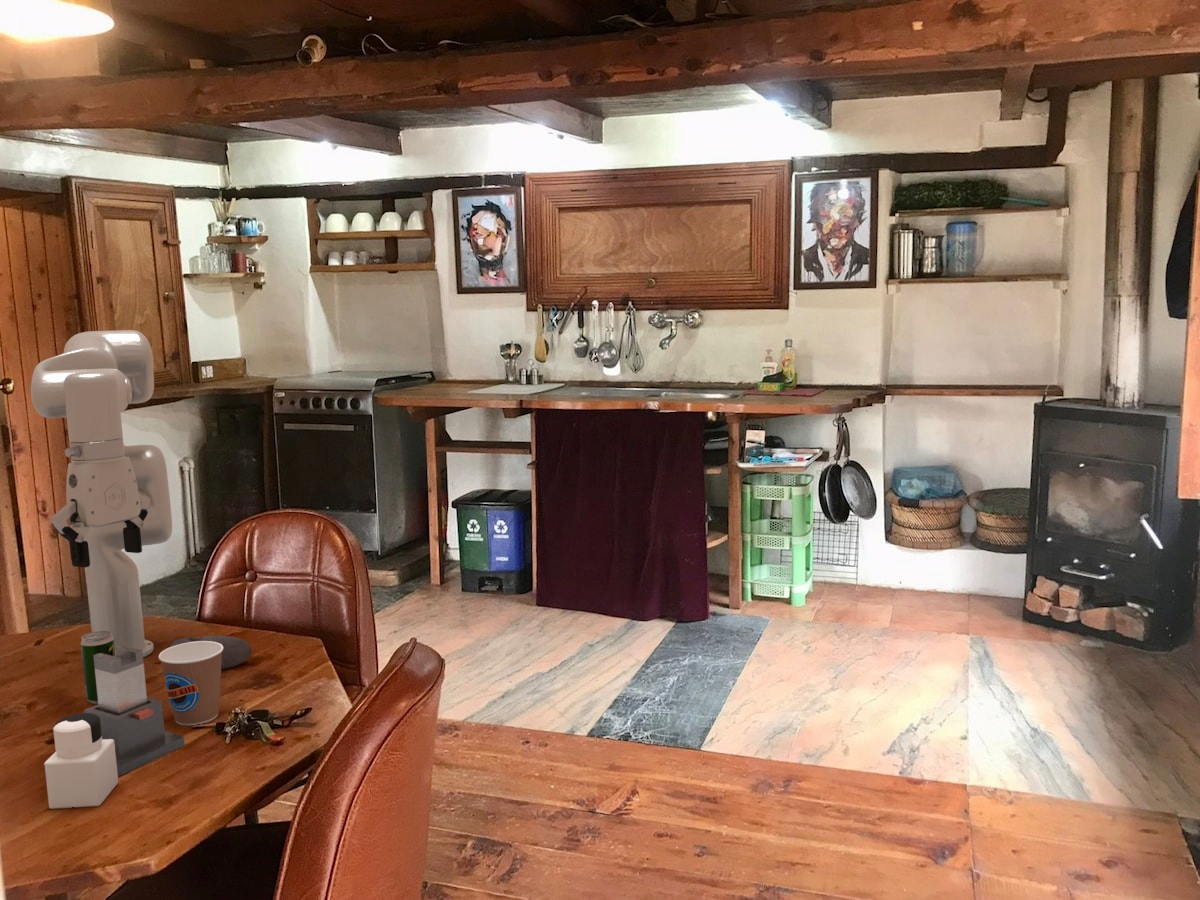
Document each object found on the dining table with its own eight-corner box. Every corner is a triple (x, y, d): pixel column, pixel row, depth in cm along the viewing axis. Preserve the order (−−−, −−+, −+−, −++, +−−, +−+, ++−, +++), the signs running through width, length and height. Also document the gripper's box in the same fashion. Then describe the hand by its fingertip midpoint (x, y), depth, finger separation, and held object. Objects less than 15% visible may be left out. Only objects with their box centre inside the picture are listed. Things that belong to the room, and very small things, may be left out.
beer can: (88, 707, 179) (81, 642, 178) (84, 697, 184) (78, 634, 182) (121, 700, 182) (115, 636, 180) (117, 690, 187) (110, 628, 185)
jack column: (101, 746, 160) (92, 655, 157) (131, 733, 164) (122, 645, 162) (122, 753, 157) (113, 660, 155) (151, 740, 162) (143, 650, 159)
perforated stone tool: (251, 659, 202) (249, 626, 200) (253, 668, 197) (250, 634, 196) (170, 671, 196) (167, 637, 195) (170, 681, 191) (167, 645, 190)
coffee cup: (151, 725, 171) (144, 658, 169) (194, 702, 181) (188, 638, 179) (199, 733, 168) (193, 664, 166) (241, 709, 177) (236, 644, 175)
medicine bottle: (69, 785, 150) (61, 709, 149) (119, 783, 151) (111, 706, 149) (48, 809, 143) (39, 730, 142) (100, 806, 144) (91, 727, 142)
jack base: (69, 760, 159) (64, 712, 158) (137, 731, 169) (132, 685, 168) (117, 777, 153) (112, 727, 152) (184, 745, 163) (180, 698, 162)
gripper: (64, 459, 147) (76, 574, 150) (159, 444, 163) (169, 548, 165) (29, 458, 150) (41, 570, 153) (126, 444, 166) (136, 545, 168)
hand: (108, 559), depth 159 cm, fingers open, 9 cm apart
